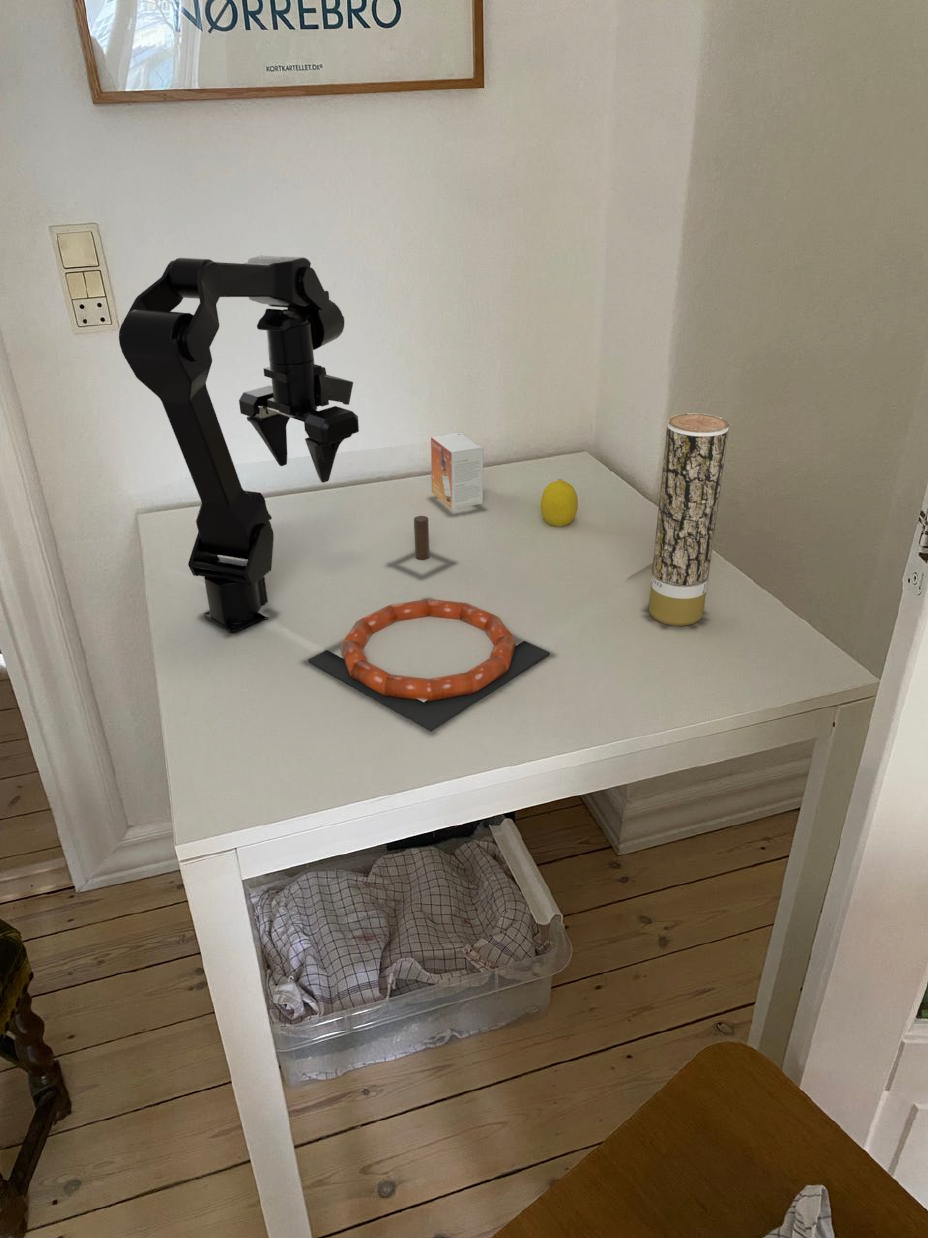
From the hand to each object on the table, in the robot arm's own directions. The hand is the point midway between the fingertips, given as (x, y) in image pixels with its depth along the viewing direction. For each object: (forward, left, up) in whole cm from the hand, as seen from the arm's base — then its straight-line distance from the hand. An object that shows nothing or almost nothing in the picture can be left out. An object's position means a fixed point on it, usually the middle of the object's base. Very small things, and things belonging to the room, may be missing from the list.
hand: (303, 473), depth 127 cm
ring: (-9, -33, -11) cm, 35 cm away
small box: (+27, -4, -12) cm, 30 cm away
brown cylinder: (+8, -15, -12) cm, 21 cm away
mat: (-9, -33, -12) cm, 36 cm away
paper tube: (+19, -49, -12) cm, 54 cm away
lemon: (+30, -22, -12) cm, 39 cm away
